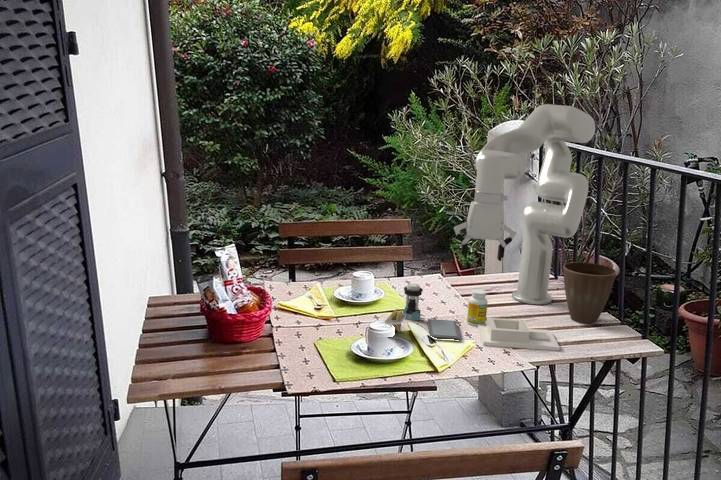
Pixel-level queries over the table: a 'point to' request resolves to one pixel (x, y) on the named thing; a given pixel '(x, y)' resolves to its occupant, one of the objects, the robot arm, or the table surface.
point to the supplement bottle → (477, 308)
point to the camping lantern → (412, 302)
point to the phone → (443, 329)
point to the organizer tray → (515, 335)
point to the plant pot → (587, 290)
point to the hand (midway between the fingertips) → (481, 258)
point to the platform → (396, 319)
